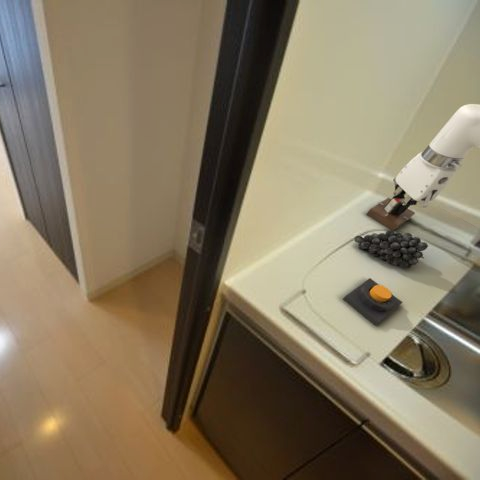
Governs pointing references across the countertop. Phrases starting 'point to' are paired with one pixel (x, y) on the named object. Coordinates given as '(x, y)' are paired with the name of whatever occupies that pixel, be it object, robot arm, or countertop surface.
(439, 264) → the countertop surface
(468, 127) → the robot arm
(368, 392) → the countertop surface
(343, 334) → the countertop surface
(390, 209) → the lock knob
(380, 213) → the lock plate
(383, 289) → the bell button
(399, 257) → the fruit
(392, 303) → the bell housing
